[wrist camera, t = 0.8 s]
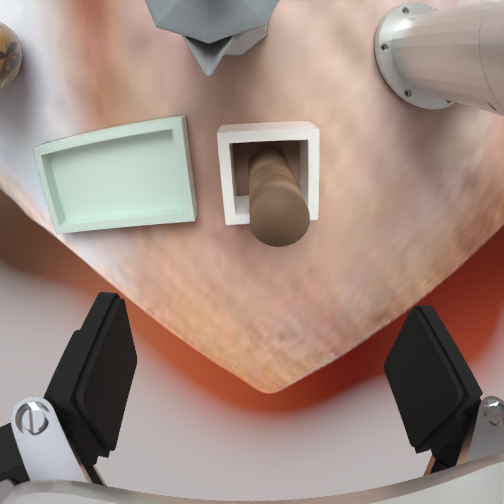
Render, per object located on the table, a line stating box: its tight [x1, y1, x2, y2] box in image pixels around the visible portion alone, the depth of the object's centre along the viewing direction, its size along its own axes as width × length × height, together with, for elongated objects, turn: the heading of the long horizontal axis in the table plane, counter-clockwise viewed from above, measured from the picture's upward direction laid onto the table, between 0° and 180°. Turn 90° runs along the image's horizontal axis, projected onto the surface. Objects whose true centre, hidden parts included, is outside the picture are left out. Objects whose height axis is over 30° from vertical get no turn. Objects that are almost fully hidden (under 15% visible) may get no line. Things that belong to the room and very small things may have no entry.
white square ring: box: [217, 121, 319, 225], centre depth 31 cm, size 9×9×5 cm
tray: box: [33, 115, 198, 234], centre depth 32 cm, size 18×11×2 cm, turn 93°
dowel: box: [248, 145, 310, 247], centre depth 27 cm, size 4×4×14 cm
